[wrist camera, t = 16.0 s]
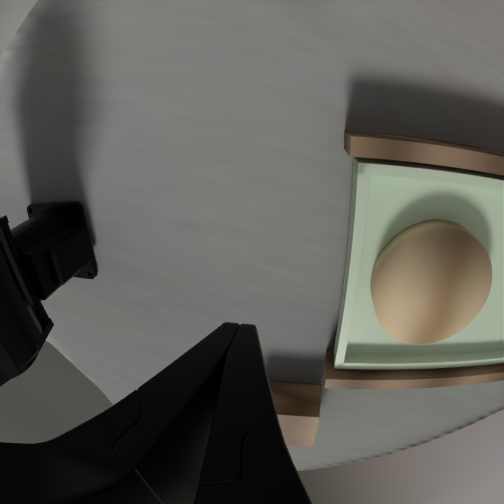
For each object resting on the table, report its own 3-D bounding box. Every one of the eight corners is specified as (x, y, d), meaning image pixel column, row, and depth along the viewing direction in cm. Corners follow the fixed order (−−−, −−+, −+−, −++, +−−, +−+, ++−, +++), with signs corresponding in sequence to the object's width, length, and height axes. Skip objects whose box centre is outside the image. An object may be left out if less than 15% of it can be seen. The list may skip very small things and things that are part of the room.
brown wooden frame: (325, 359, 24) (324, 388, 21) (344, 131, 17) (350, 136, 14) (510, 354, 21) (522, 377, 18) (569, 170, 14) (594, 182, 11)
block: (262, 413, 28) (256, 442, 25) (262, 380, 26) (255, 412, 23) (314, 417, 28) (312, 447, 24) (320, 384, 25) (319, 417, 22)
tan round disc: (365, 331, 21) (367, 347, 19) (373, 219, 17) (378, 230, 16) (468, 325, 19) (475, 338, 18) (491, 219, 16) (503, 229, 14)
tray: (333, 349, 23) (331, 482, 13) (353, 156, 17) (404, 229, 7) (506, 346, 20) (551, 445, 11) (558, 187, 14) (660, 257, 4)
